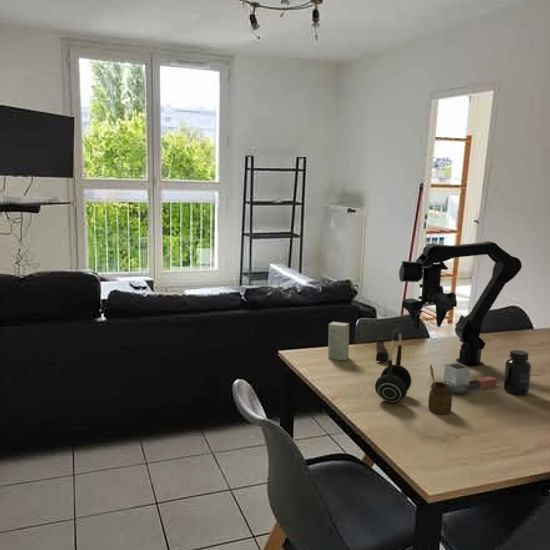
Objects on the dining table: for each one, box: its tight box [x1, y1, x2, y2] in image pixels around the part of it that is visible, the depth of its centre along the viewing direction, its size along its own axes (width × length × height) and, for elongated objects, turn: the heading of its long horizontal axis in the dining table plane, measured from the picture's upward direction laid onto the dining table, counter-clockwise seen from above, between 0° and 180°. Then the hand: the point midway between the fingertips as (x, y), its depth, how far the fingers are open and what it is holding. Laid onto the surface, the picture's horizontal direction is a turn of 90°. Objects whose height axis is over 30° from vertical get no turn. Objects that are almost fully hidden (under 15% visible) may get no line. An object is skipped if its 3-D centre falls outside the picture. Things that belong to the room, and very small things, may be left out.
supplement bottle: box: [503, 349, 532, 396], centre depth 152 cm, size 7×7×12 cm
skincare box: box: [327, 321, 350, 361], centre depth 178 cm, size 6×4×12 cm
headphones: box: [374, 328, 412, 403], centre depth 145 cm, size 9×15×20 cm, turn 157°
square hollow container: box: [443, 362, 471, 387], centre depth 152 cm, size 5×5×5 cm
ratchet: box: [442, 375, 497, 396], centre depth 155 cm, size 18×7×5 cm, turn 114°
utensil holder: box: [427, 364, 454, 415], centre depth 138 cm, size 6×6×12 cm
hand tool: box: [375, 335, 389, 363], centre depth 184 cm, size 19×4×5 cm, turn 169°
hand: (427, 327), depth 175 cm, fingers open, 9 cm apart
